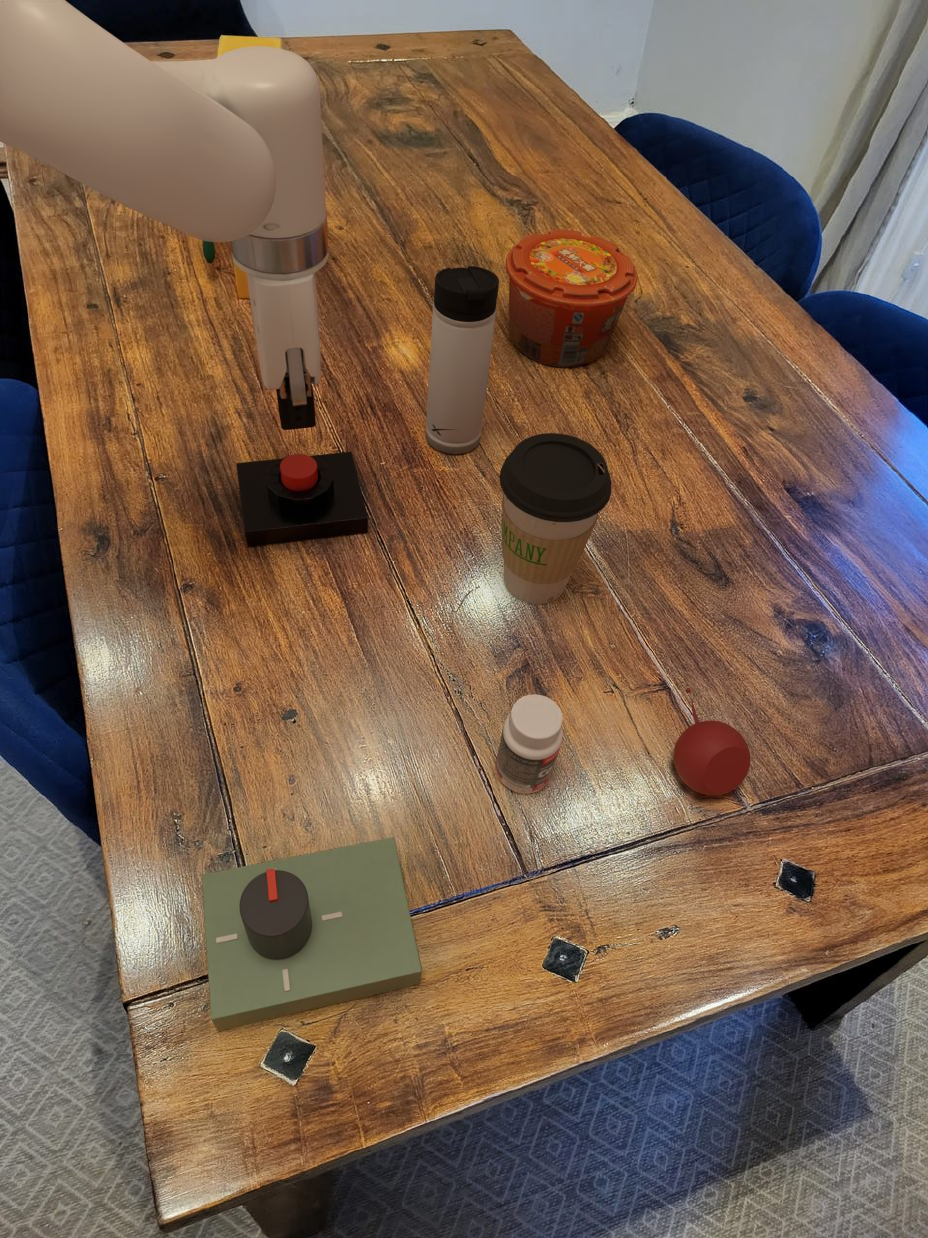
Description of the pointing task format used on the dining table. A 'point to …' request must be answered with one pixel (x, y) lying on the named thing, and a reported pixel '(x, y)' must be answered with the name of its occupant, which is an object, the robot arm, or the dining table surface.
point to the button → (299, 472)
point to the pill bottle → (529, 744)
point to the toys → (224, 46)
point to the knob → (276, 914)
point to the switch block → (301, 502)
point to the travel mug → (460, 357)
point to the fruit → (711, 756)
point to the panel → (313, 936)
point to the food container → (566, 295)
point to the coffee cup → (549, 512)
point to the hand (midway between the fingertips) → (297, 422)
